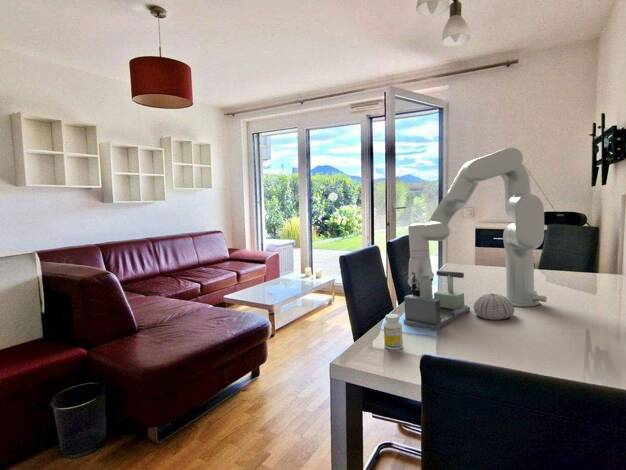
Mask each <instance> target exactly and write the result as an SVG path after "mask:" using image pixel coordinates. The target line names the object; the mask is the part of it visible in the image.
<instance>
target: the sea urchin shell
mask: <svg viewBox="0 0 626 470" xmlns="http://www.w3.org/2000/svg"><path fill="white" fill-rule="evenodd" d="M472 308H473V311H474V313H475V314H476V315H477V316H478V317H480V318H483V319H485V320H493V321H495V320H505V319H508V318H510V317H512V316H513V315H514V313H515V311H516V310H515V306H513V304H512V303H511V302H510V301H509V300H508V299H507V298H506V296H504V295H502V294H497V293H487V294H486V293H485V294H483V295H481V296H480V297H478V298H477V299H476V300H475V302H474V303H473V307H472Z"/></svg>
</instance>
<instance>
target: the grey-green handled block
mask: <svg viewBox="0 0 626 470" xmlns="http://www.w3.org/2000/svg"><path fill="white" fill-rule="evenodd" d="M436 276H439V277H446V279H447V290H446V289H445V290H444V289H440V290H438V291H436V292H434V293H433V299H439V300H440V307H444V308H450V309H457V308H459V307H461V306H463V305H465V293H464V292H460V291H454V278H458V279H463V278H464V277H465V272H460V271H448V270H440V269H439V270H437V271H436Z"/></svg>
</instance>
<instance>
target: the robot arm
mask: <svg viewBox="0 0 626 470" xmlns="http://www.w3.org/2000/svg"><path fill="white" fill-rule="evenodd" d="M523 160H524V156H523V153H522V152H521V151H520V150H519V149H518V148H515V147H506V148H503V149H502V148H501V149H499V150H497V151H494V152H492V153H490V154H487V155H483V156H481V157H477V158H475V159H474V158H473V159H471V160H469V161H466V162H465V163H464V164H462V166H461V168H460V169H459V171H458V172H457V175H456V176H455V177H454V180H453V182H452V183H451V185H450V186H449V189H447V192H446V193H445V195H444V197H443V198H442V199H441V200H440V202H439V204H438V206H436V208H435V210H434V212H433V213H432V215H431V217H430V218H429V220H428V222H427V223H425V222H424V223H423V222H417V223H412V224H409V226H408V229H407V230H408V240H409V241H408V242H409V243H408V244H409V245H408V246H409V260H408V279H407V285H409V287H410V289H411V293H412V294H411V295H413V296H420V291H419V290H418V289H419V284H420V283H421V282H422V280H423V278H427V277H429V278H430V279H431V281H432V282H433V280H434V277H435V273H434V272H433V270H432V269H433V268H432V267H433V266H432V262H431V258H430V256H431V255H430V242H429V241H431V242H442V241H445V240H446V239H448V238H449V237H450V234H451V230H450V227H449V223H450V222H451V220H452V219H453V217H454V216H455V215H456V213H458V212H459V211H460V210H461V209H463V208H465V206H466V205H467V204H468V202H469V201H470V198H471V196H472V195H473V194H474V192H475V190H476V188H477V187H478V185H479V183H481V182H482V181H483V182H484V181H487V180H490V179H493V178H496V177H499V176H500V177H501V178H502V180H503V184H504V207H505V208H504V209H505V213H506V214H507V215H508V217H510V218H512V219H515V222H512V223H509V224H508V225H507V226H506V227H505V228H504V230H503V233H502V234H503V235H502V239H503V246H504V252H505V253H504V255H505V279H506V280H505V281H506V282H505V283H506V285H505V286H506V288H505V289H506V296H505V297H506V298H507V299H508V300H509V301H510V302H511V303H512V304H513V307H523V308H524V307H525V308H527V307H529V308H530V307H535V306H539V304H540V302H543V303H546V302H547V301H548V297H547V296H546V295H540V294H538V291H536V290H535V272H534V271H535V269H534V264H535V263H534V261H535V260H534V251H533V250H536V249H538V248H539V247H540V246H541V245H542V244H543V242H544V239H545V207H544V203H543V201H542V200H541V199H540V198H539V196H537V195H536V194H532V193H531V192H532V191H531V182H530V176H529V175H530V174H529V172H528V170H527V168H526V167H525V165H523ZM415 280H417V282H414V281H415ZM414 284H417V285H416V286H415V285H414Z"/></svg>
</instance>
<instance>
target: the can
mask: <svg viewBox="0 0 626 470" xmlns="http://www.w3.org/2000/svg"><path fill="white" fill-rule="evenodd" d="M414 282H417V280H415V281H414ZM414 285H415V286H416V285H417V284H414ZM418 290H419V291H420V297H426V298H432V299H434V293H433V281H431V279H430V278H429V277H427V278H423V280H422V282H421V283H420V284H419V289H418Z"/></svg>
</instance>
